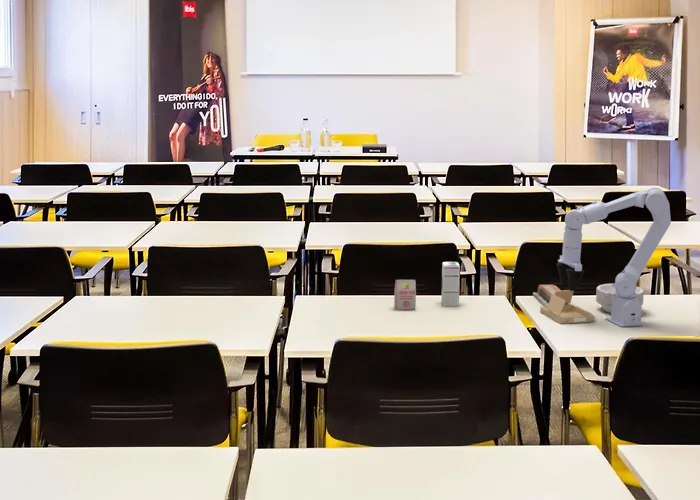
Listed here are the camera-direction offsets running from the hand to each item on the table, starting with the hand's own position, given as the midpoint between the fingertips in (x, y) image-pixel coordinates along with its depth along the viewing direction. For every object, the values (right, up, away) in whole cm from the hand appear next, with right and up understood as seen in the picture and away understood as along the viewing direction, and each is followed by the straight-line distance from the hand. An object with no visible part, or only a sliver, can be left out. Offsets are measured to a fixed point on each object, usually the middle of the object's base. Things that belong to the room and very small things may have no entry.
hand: (568, 287), depth 276 cm
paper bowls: (+19, -9, +10) cm, 23 cm away
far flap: (0, -6, +9) cm, 10 cm away
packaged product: (0, -6, +21) cm, 22 cm away
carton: (0, -10, +2) cm, 10 cm away
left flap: (-6, -8, -2) cm, 10 cm away
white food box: (-53, -8, +10) cm, 54 cm away
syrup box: (-37, -7, +16) cm, 41 cm away
